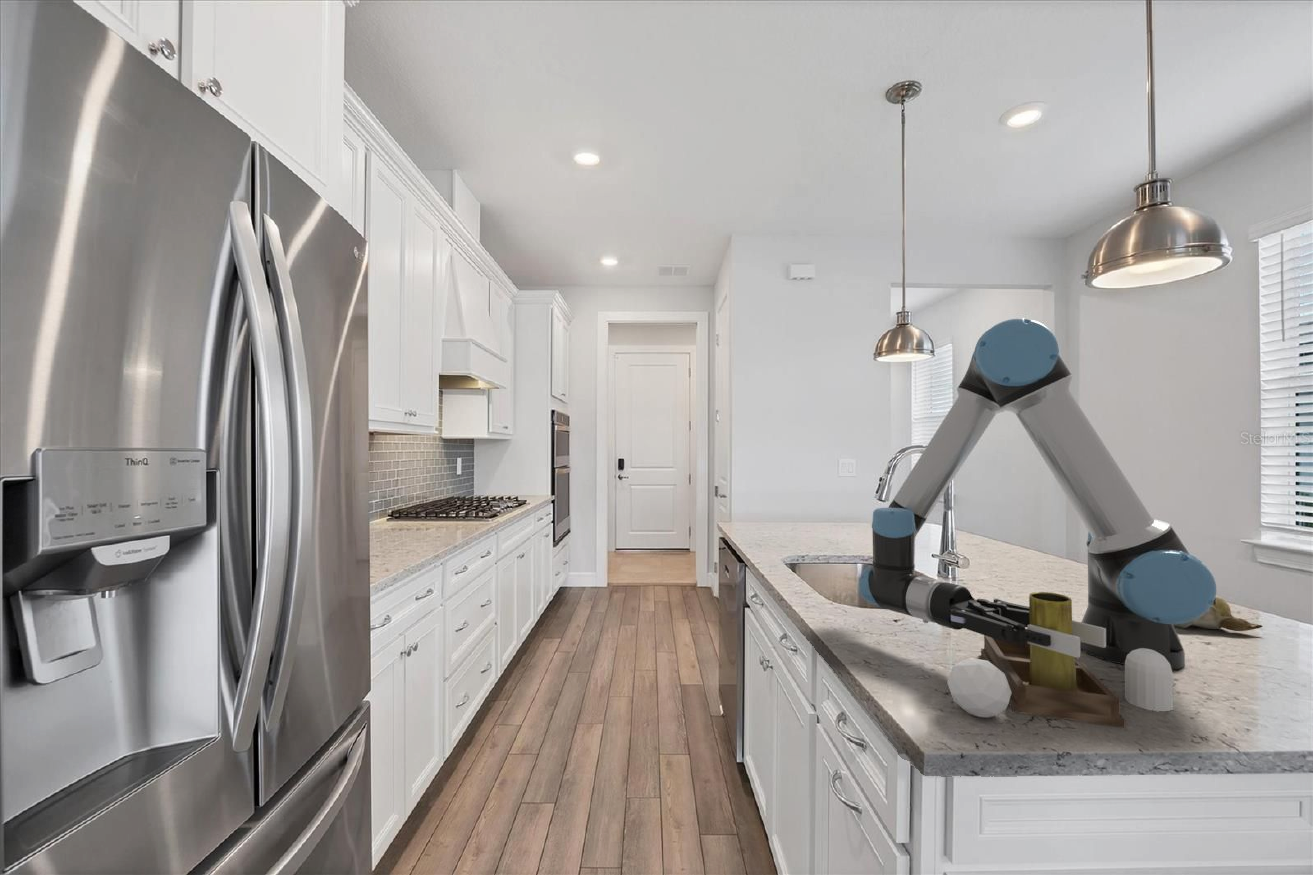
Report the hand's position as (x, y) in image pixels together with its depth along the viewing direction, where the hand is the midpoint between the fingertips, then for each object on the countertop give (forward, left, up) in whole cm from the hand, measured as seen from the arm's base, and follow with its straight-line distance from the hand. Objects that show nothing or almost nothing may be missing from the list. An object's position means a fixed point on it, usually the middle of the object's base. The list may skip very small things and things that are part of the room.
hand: (1091, 642), depth 80 cm
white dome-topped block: (-9, -7, -10) cm, 16 cm away
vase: (+4, -3, -9) cm, 10 cm away
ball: (+15, +5, -10) cm, 19 cm away
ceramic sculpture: (-37, -54, -11) cm, 66 cm away
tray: (+4, -9, -10) cm, 14 cm away
